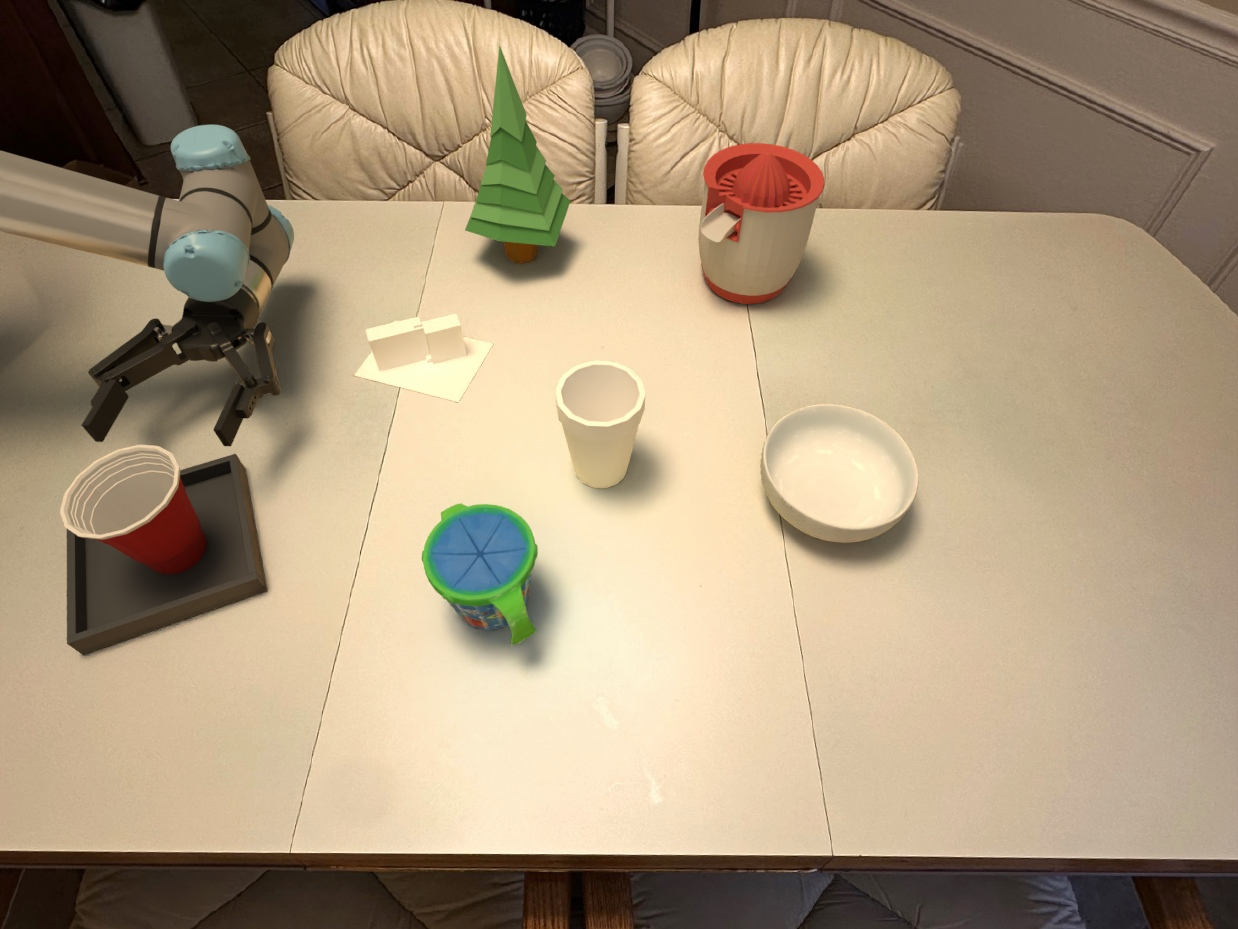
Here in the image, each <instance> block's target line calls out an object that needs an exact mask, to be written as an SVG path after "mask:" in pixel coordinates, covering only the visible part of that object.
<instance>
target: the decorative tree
mask: <svg viewBox="0 0 1238 929" xmlns="http://www.w3.org/2000/svg"><path fill="white" fill-rule="evenodd" d="M492 104H493V105H492V115H491V124H490V134H489V138H490V141H489V146H488V151H487V152H488V153H487V156H486V157H487V158H486V161H485V167H484V168H485V169H484V172H483V176H482V179H481V183H480V187H479V190H478V192H477V195H476V199H475V202H474V204H473V205H474V206H473V208H472V210H471V213H470V216H469V219H468V220H467V224H466V226H465V229H464V231H465V232H468V233H472V234H475V235H478V236H481V237H483V238H484V237H485V238H488V239H491V240H493V241H496V242H503V245H504V246H503V247H504V252H505V253H504V254H505V257H506V258H507V259H509V260H510V261H512V262H513V263H515V264H516V265H521V264H524V263H525V264H527V263H531V262H532V263H533V262H534V260H535V259H536V256H537V254H538V253H539V246H545V247H556V245H557V242H558V239H559V236H560V234H561V230H562V227H563V224H564V222H565V218H566V215H567V213H568V211H569V207H570V205H571V200H570V198H568V197H567V196H566V195H565V194H564V193H563V190H564V189H563V187H561V185H560V184H559V183H558V182H557V181H556V180H554V179H555V177H556V176H555V174H554V173H553V172H552V171H551V170H550V168H549V167H548V165H547V164H546V162H547V159H546V158H545V156H544V154H542V152H541V151H540V149H539V147H538V146H537V143H538V141H537V139H536V137H535V136H534V133H533V132H532V129H531V127H530V126H529V124H528V122H527V116H528V115H527V112H526V110H525V107H524V104H523V102H522V99H521V97H520V94H519V91H518V88H517V86H516V83H515V81H514V78H513V75H512V73H511V71H510V68H509V65H508V63H507V61H506V59H505V56H504V53H503V50H502V47H501V45H499V46H498V56H497V66H496V75H495V85H494V96H493V103H492Z"/></svg>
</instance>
